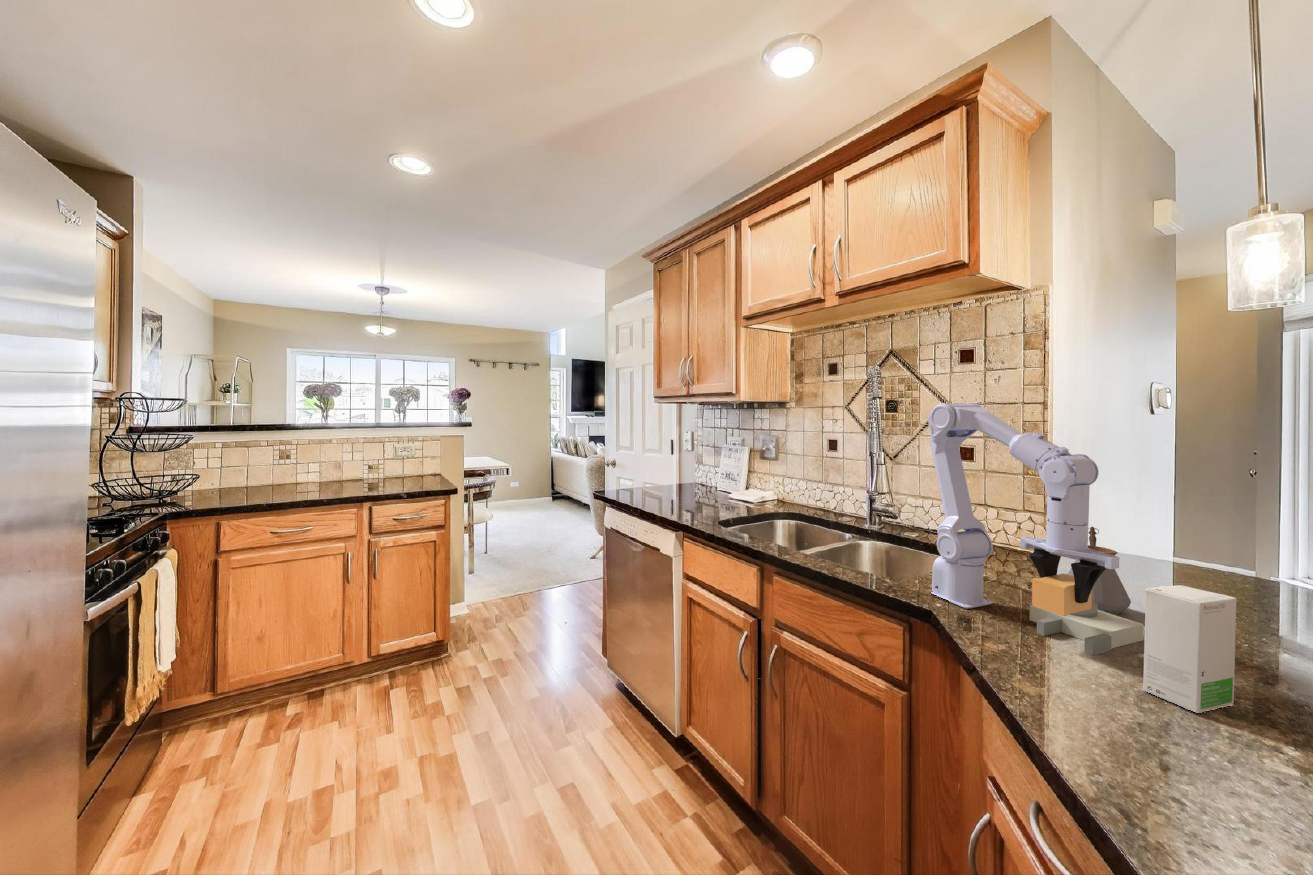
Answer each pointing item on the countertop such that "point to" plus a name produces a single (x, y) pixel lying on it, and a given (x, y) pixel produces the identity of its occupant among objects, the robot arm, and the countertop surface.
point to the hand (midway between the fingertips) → (1065, 596)
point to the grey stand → (1089, 628)
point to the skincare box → (1190, 647)
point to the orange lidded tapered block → (1057, 595)
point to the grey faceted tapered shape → (1107, 584)
